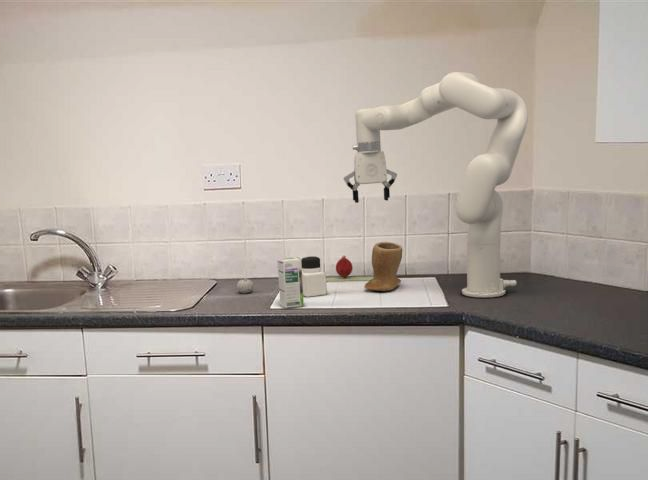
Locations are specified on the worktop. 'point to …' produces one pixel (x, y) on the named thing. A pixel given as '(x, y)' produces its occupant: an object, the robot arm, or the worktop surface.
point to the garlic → (245, 286)
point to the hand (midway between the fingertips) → (371, 201)
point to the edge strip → (349, 278)
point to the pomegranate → (344, 267)
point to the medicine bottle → (313, 277)
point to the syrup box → (290, 282)
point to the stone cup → (385, 266)
